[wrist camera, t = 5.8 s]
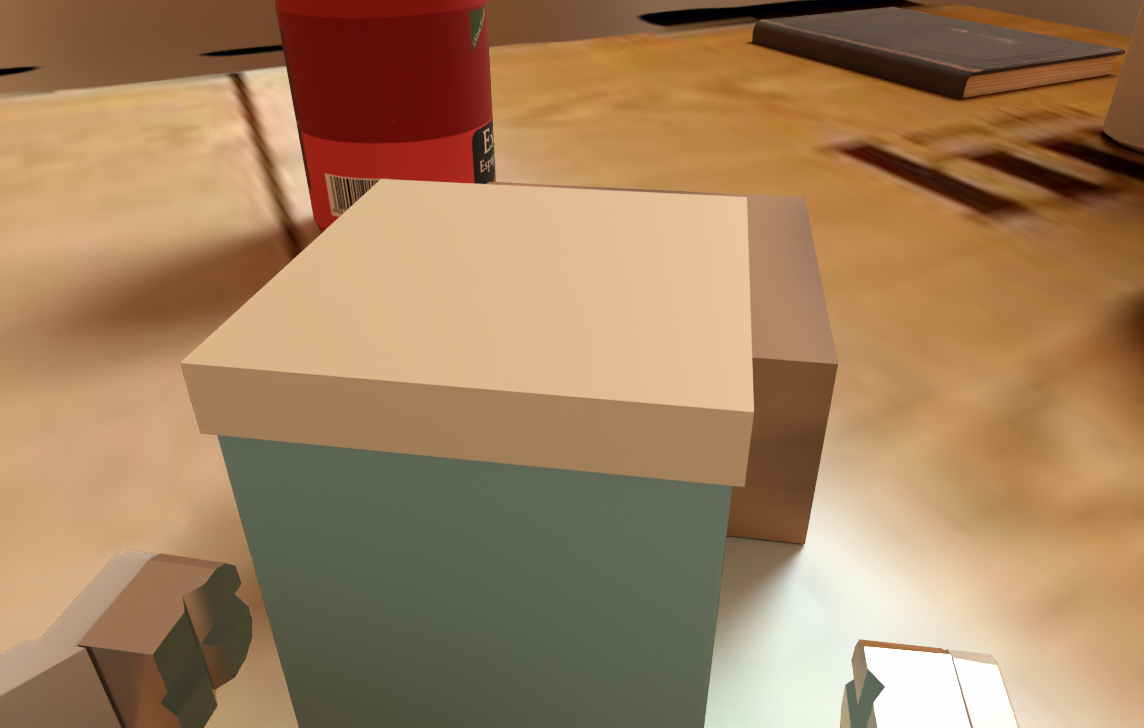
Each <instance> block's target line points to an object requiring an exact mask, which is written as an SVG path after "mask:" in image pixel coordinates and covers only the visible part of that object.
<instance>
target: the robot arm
mask: <svg viewBox="0 0 1144 728" xmlns="http://www.w3.org/2000/svg"><path fill="white" fill-rule="evenodd" d="M240 585H241V581H240V578H239V575H238V573H237V570H236V567H235V566H234V565H230V564H226V563H220V562H214V561H207V560H200V559H194V558H187V557H180V556H174V555H167V554H158V553H151V552H143V551H136V550H129V549H127V550H125V551H123V552H121V553H119V554H117V555H115V556H114V557H113V558H112V559H111V560H110V561H109V562H108V563H107V565H106V566H105V567H104V568H103V569H102V570H101V571H100V572H99V574H98V575H97V576H96V577H95V578H94V579H93V580H92V581H91V582H90V584H89V585H88V586H87V587H86V588H85V589H84V590H83V591H82V592H81V594H80V595H79V596H78V597H77V598H76V599H75V600H74V601H73V603H72V604H71V605H70V606H69V607H68V608H67V609H66V610H65V611H64V613H63V614H62V615H61V616H60V617H59V618H58V619H57V620H56V621H55V623H54V624H53V625H52V626H51V627H50V628H49V629H48V630H47V632H46V633H45V634H44V635H43V636H42V637H41V638H40V639H39V640H38V641H35V640H26V641H24V642H22V643H20V644H18V645H17V646H15V647H13V648H11V649H9V650H7V651H5V652H3V653H1V654H0V728H204V727H205V725H206V723H207V722H208V720H209V719H210V717H211V715H212V714H213V712H214V710H215V709H216V707H217V698H216V691H215V690H216V689H217V688H219V687H220V686H222V685H223V684H225V683H226V682H228V681H230V680H231V679H233V678H234V677H235V676H236V674H237V673H238V671H239V669H240V667H241V666H242V664H243V662H244V660H245V659H246V656H247V652H248V649H249V645H250V642H251V638H252V619H251V615H250V611H249V608H248V606H247V605H245V604H244V603H243V602H242V601H241V600H240V599H239V598H238V597H237V596H236V595H235V593H236V591H237V590H238V588H239V587H240ZM852 667H853V674H854V680H852V681H851V682H849V683H848V684H846V685H845V690H844V695H843V700H842V707H841V720H840V728H1019V726H1018V723H1017V720H1016V717H1015V714H1014V711H1013V708H1012V705H1011V702H1010V699H1009V696H1008V693H1007V690H1006V687H1005V684H1004V681H1003V678H1002V675H1001V672H1000V669H999V666H998V663H997V661H996V660H995V659H994V658H993V657H992V655H988V654H980V653H971V652H963V651H954V650H943V649H941V648H932V647H923V646H914V645H905V644H896V643H887V642H878V641H868V640H859V641H858V643H857V644H856V646H855V649H854V653H853V657H852Z"/></svg>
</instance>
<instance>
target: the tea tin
mask: <svg viewBox="0 0 1144 728" xmlns="http://www.w3.org/2000/svg"><path fill="white" fill-rule="evenodd" d="M180 364H181V368H182V371H183V375H184V378H185V382H186V385H187V388H188V392H189V395H190V399H191V402H192V406H193V409H194V413H195V416H196V419H197V423H198V426H199V430H200V433H201V434H212V435H217V436H218V439H219V443H220V446H221V450H222V454H223V457H224V461H225V464H226V468H227V471H228V475H229V479H230V482H231V486H232V489H233V493H234V497H235V500H236V504H237V507H238V511H239V514H240V518H241V522H242V525H243V529H244V532H245V536H246V540H247V543H248V547H249V550H250V554H251V557H252V561H253V565H254V568H255V572H256V575H257V579H258V583H259V586H260V590H261V593H262V597H263V600H264V604H265V608H266V611H267V615H268V618H269V622H270V626H271V629H272V633H273V636H274V640H275V643H276V647H277V651H278V654H279V658H280V661H281V665H282V669H283V672H284V676H285V679H286V683H287V686H288V690H289V694H290V697H291V701H292V704H293V708H294V712H295V715H296V719H297V722H298V726H299V728H704V722H705V713H706V705H707V696H708V688H709V679H710V671H711V662H712V654H713V645H714V637H715V628H716V620H717V611H718V603H719V594H720V586H721V577H722V569H723V560H724V552H725V543H726V535H727V526H728V518H729V509H730V500H731V492H732V486H739V487H745V479H746V471H747V464H748V456H749V448H750V440H751V432H752V424H753V416H754V395H753V365H752V335H751V305H750V275H749V244H748V214H747V197H735V196H714V195H694V194H674V193H654V192H633V191H613V190H593V189H573V188H553V187H532V186H512V185H492V184H472V183H452V182H431V181H411V180H391V179H381V180H379V181H378V182H377V183H376V184H375V185H374V186H373V187H372V188H371V189H370V190H369V191H367V192H366V193H365V194H364V195H363V196H362V197H361V198H360V199H359V200H358V201H356V202H355V203H354V204H353V205H352V206H351V207H350V208H349V209H348V210H347V211H346V212H344V213H343V214H342V215H341V216H340V217H339V218H338V219H337V220H336V221H335V222H334V223H332V224H331V225H330V226H329V227H328V228H327V229H326V230H325V231H324V232H323V233H322V234H320V235H319V236H318V237H317V238H316V239H315V240H314V241H313V242H312V243H311V244H309V245H308V246H307V247H306V248H305V249H304V250H303V251H302V252H301V253H300V254H299V255H297V256H296V257H295V258H294V259H293V260H292V261H291V262H290V263H289V264H288V265H287V266H285V267H284V268H283V269H282V270H281V271H280V272H279V273H278V274H277V275H276V276H275V277H273V278H272V279H271V280H270V281H269V282H268V283H267V284H266V285H265V286H264V287H262V288H261V289H260V290H259V291H258V292H257V293H256V294H255V295H254V296H253V297H252V298H250V299H249V300H248V301H247V302H246V303H245V304H244V305H243V306H242V307H241V308H240V309H238V310H237V311H236V312H235V313H234V314H233V315H232V316H231V317H230V318H229V319H228V320H226V321H225V322H224V323H223V324H222V325H221V326H220V327H219V328H218V329H217V330H215V331H214V332H213V333H212V334H211V335H210V336H209V337H208V338H207V339H206V340H205V341H203V342H202V343H201V344H200V345H199V346H198V347H197V348H196V349H195V350H194V351H193V352H191V353H190V354H189V355H188V356H187V357H186V358H185V359H184V360H183V361H182V362H181V363H180Z"/></svg>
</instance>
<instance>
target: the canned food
mask: <svg viewBox="0 0 1144 728" xmlns="http://www.w3.org/2000/svg"><path fill="white" fill-rule="evenodd" d="M486 1H487V0H275V5H276V12H277V17H278V23H279V28H280V34H281V39H282V45H283V51H284V56H285V61H286V67H287V73H288V78H289V84H290V89H291V95H292V100H293V106H294V111H295V117H296V122H297V128H298V133H299V139H300V144H301V150H302V155H303V161H304V166H305V172H306V177H307V183H308V188H309V194H310V199H311V205H312V210H313V216H314V219H315V221H316V223H317V225H318V227H319V229H320V231H321V233H323V232H324V231H325V230H326V229H327V228H328V227H329V226H330V225H331V224H332V223H334V222H335V221H336V220H337V219H338V218H339V217H340V216H341V215H342V214H343V213H344V212H346V211H347V210H348V209H349V208H350V207H351V206H352V205H353V204H354V203H355V202H356V201H358V200H359V199H360V198H361V197H362V196H363V195H364V194H365V193H366V192H367V191H369V190H370V189H371V188H372V187H373V186H374V185H375V184H376V183H377V182H378V181H379V180H381V179H391V180H411V181H431V182H452V183H472V184H487V183H488V182H496V176H495V156H494V137H493V117H492V98H491V78H490V59H489V41H488V40H489V39H488V20H487V2H486Z"/></svg>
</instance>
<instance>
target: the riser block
mask: <svg viewBox="0 0 1144 728" xmlns="http://www.w3.org/2000/svg"><path fill="white" fill-rule="evenodd" d="M487 184H492V185H512V186H532V187H553V188H573V189H593V190H613V191H633V192H654V193H674V194H694V195H714V196H735V197H747V214H748V244H749V275H750V305H751V335H752V365H753V395H754V416H753V424H752V432H751V440H750V448H749V456H748V464H747V471H746V479H745V487H739V486H732V492H731V500H730V509H729V518H728V526H727V535H726V536H735V537H745V538H754V539H763V540H773V541H782V542H791V543H801V544H805V540H806V535H807V530H808V524H809V519H810V513H811V508H812V502H813V497H814V491H815V486H816V481H817V475H818V470H819V464H820V459H821V453H822V448H823V442H824V437H825V432H826V426H827V421H828V415H829V410H830V404H831V399H832V393H833V388H834V383H835V377H836V372H837V366H838V362H837V357H836V352H835V347H834V342H833V337H832V332H831V327H830V322H829V317H828V312H827V307H826V302H825V297H824V292H823V287H822V282H821V277H820V272H819V267H818V262H817V257H816V253H815V248H814V243H813V238H812V233H811V228H810V223H809V218H808V213H807V208H806V203H805V198H804V197H786V196H765V195H745V194H725V193H704V192H684V191H664V190H643V189H623V188H603V187H582V186H562V185H542V184H521V183H501V182H488V183H487Z"/></svg>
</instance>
